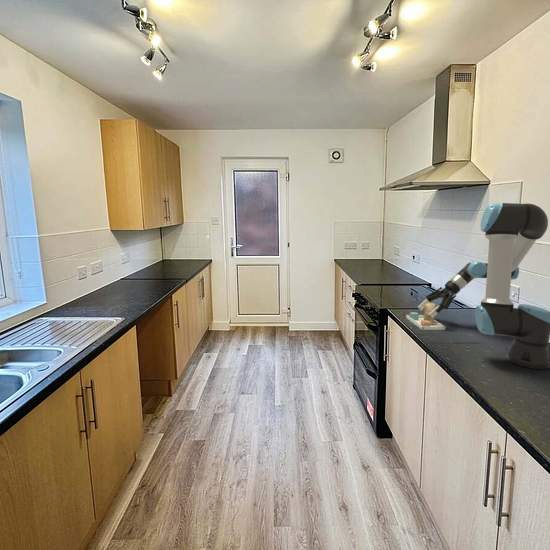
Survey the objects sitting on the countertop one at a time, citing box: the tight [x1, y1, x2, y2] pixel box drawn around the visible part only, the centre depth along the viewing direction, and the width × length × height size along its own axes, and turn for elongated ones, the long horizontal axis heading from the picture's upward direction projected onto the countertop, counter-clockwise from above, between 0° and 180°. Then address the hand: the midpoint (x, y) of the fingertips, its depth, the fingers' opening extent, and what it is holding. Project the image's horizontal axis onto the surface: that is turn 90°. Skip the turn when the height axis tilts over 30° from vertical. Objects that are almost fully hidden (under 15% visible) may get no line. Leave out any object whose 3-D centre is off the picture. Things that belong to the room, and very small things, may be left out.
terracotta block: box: [421, 320, 431, 326], centre depth 189 cm, size 4×4×4 cm
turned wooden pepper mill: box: [423, 301, 436, 325], centre depth 196 cm, size 5×5×11 cm
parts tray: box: [405, 314, 446, 331], centre depth 197 cm, size 21×12×2 cm, turn 3°
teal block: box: [409, 311, 420, 320], centre depth 204 cm, size 4×4×4 cm
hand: (424, 312), depth 196 cm, fingers open, 13 cm apart
